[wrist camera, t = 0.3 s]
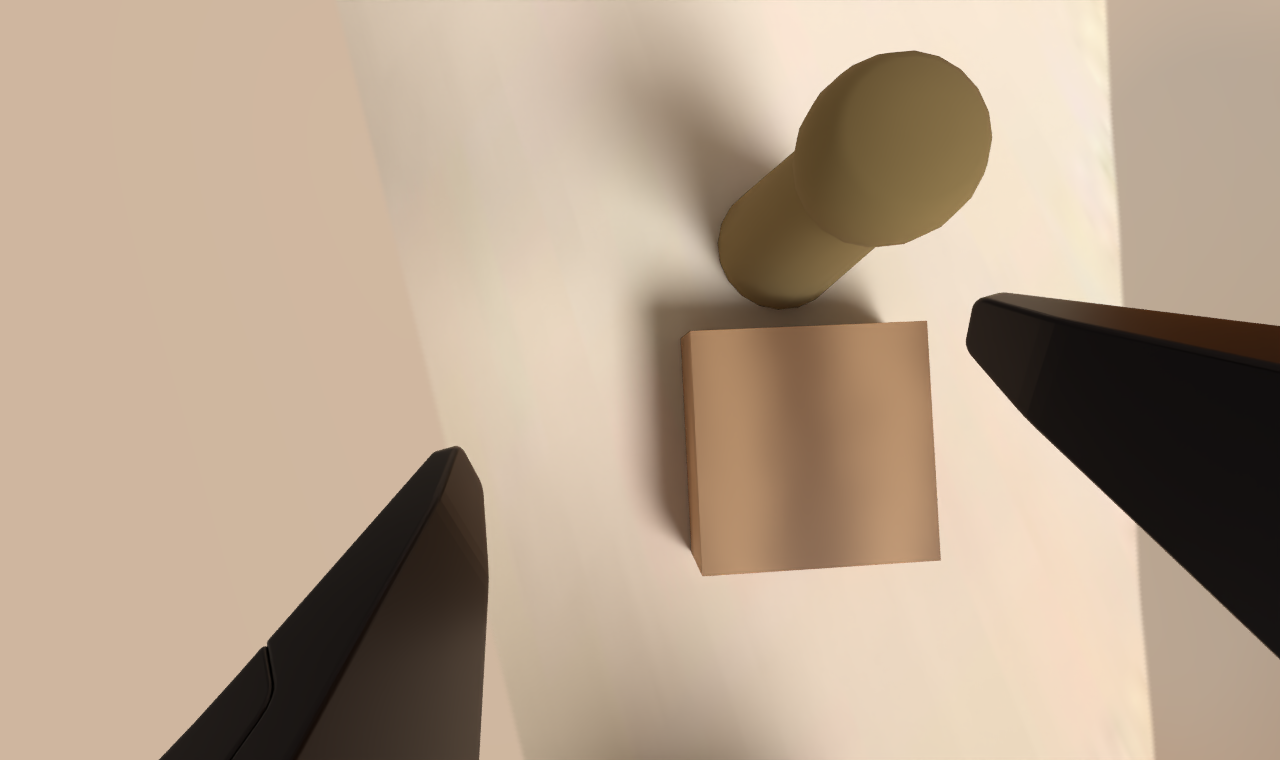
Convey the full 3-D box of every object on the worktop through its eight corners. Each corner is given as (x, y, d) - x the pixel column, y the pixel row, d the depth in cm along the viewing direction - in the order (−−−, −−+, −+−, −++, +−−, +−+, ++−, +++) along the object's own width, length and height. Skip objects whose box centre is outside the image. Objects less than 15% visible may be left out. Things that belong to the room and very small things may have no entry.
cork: (791, 335, 24) (944, 288, 13) (692, 255, 23) (759, 137, 12) (867, 237, 24) (1081, 107, 13) (769, 157, 24) (902, -42, 13)
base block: (887, 329, 24) (926, 320, 21) (899, 538, 24) (940, 560, 21) (680, 338, 23) (690, 330, 20) (691, 552, 23) (702, 576, 20)
